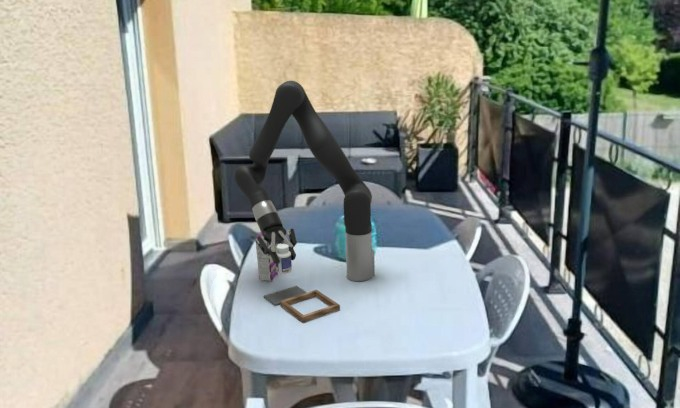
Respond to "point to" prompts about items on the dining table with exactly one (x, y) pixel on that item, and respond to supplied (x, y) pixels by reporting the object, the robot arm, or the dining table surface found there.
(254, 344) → the dining table surface
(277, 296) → the charcoal mat
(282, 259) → the pill bottle
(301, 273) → the dining table surface
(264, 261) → the candy bar box
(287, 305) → the walnut frame
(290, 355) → the dining table surface
